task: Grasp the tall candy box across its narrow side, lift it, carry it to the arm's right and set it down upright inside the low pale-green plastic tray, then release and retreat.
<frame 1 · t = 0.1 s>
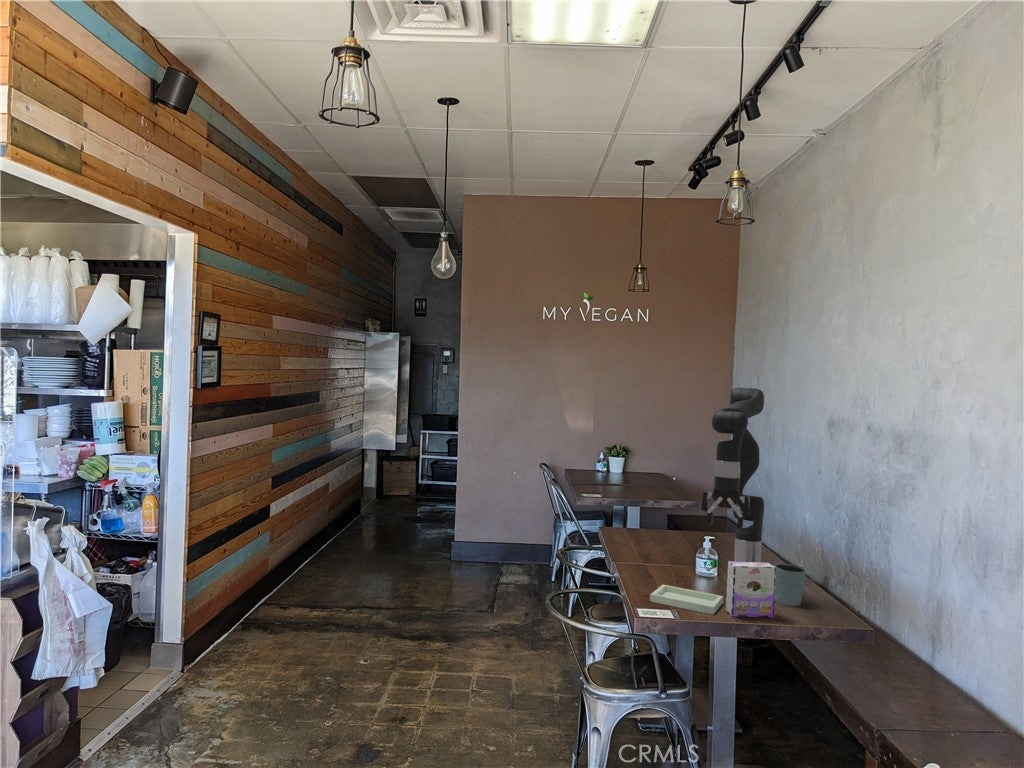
hand: (724, 527, 210), 29 cm above the table, fingers open, 8 cm apart
green cup: (788, 602, 232), on the table
candy box: (749, 615, 217), on the table
tray: (686, 602, 226), on the table
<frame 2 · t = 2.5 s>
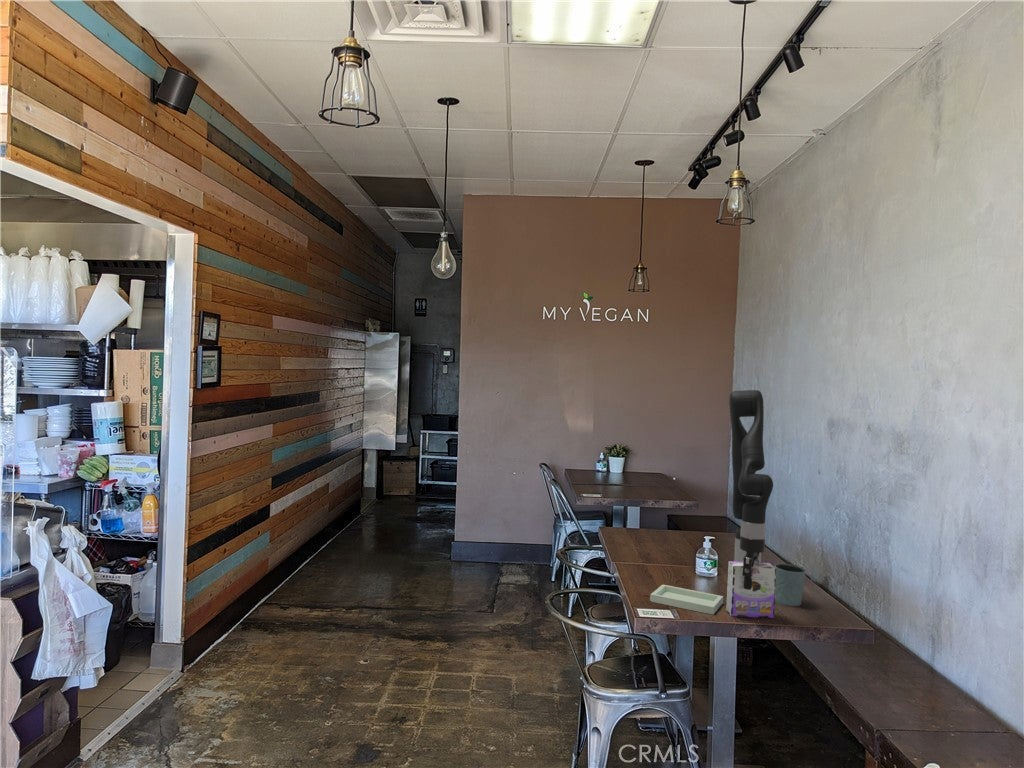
hand: (750, 586, 217), 9 cm above the table, fingers open, 8 cm apart
candy box: (749, 615, 217), on the table, touching gripper
everything else where it was.
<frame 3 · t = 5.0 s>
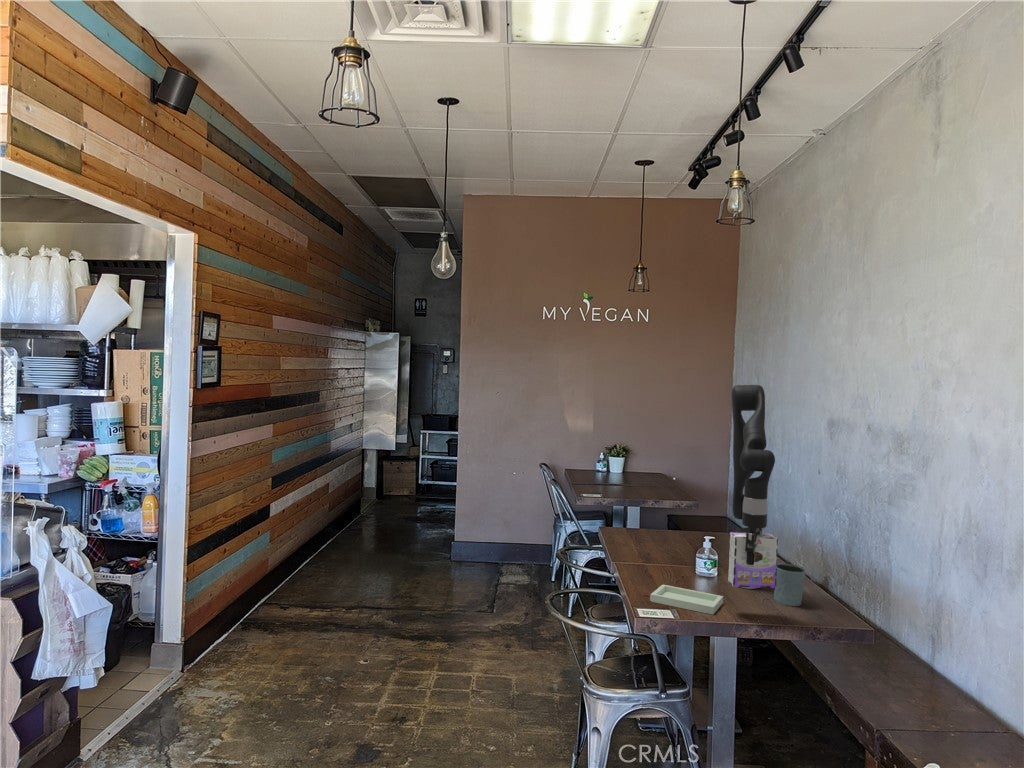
hand: (752, 561, 217), 17 cm above the table, fingers closed on candy box, 8 cm apart
candy box: (751, 585, 218), point 9 cm above the table, touching gripper
everything else where it was.
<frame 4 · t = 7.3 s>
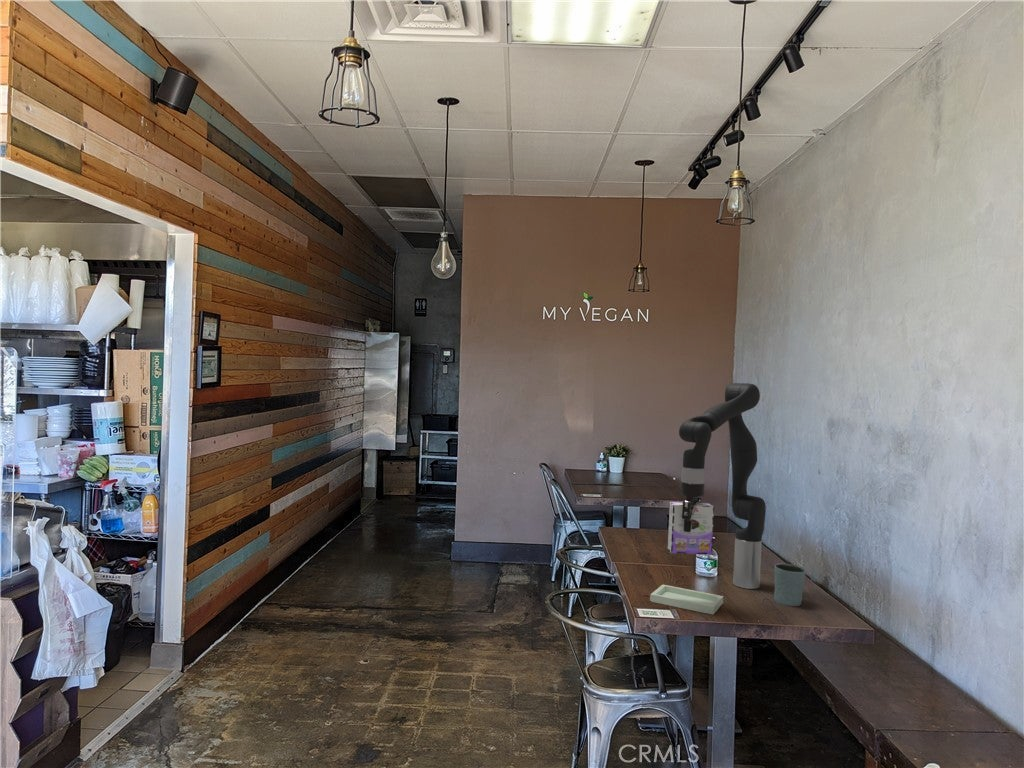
hand: (690, 529, 226), 25 cm above the table, fingers closed on candy box, 8 cm apart
candy box: (689, 552, 226), point 17 cm above the table, touching gripper
everything else where it was.
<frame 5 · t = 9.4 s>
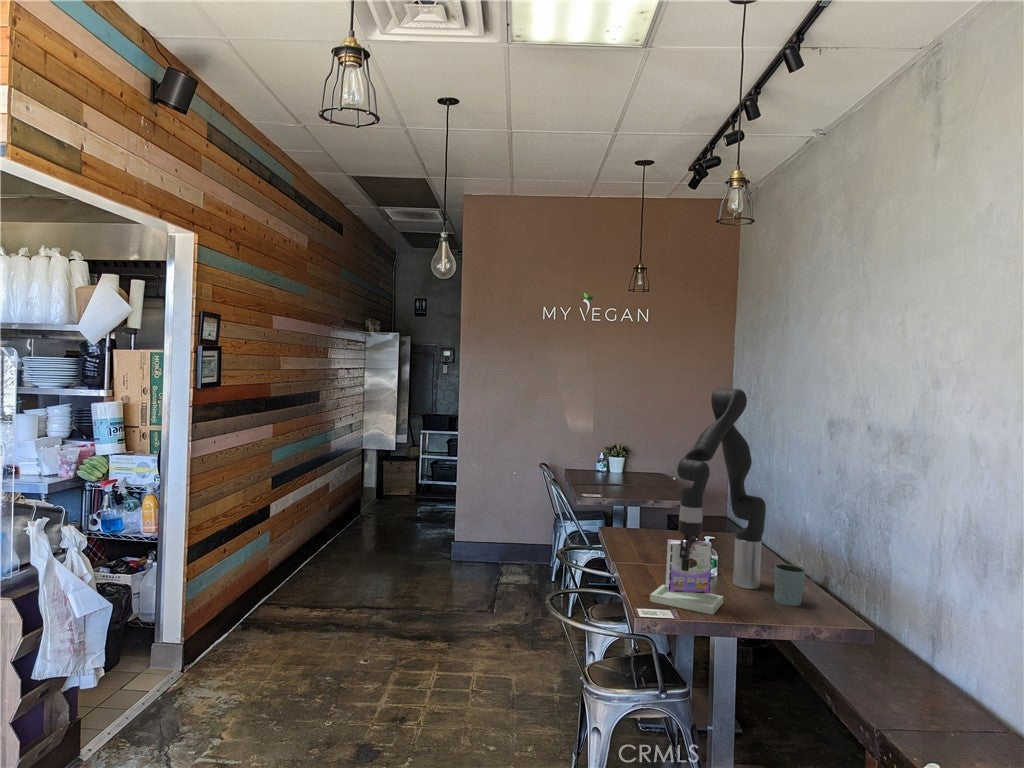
hand: (688, 567, 226), 12 cm above the table, fingers closed on candy box, 8 cm apart
candy box: (687, 591, 226), point 4 cm above the table, touching gripper
everything else where it was.
when the fingers open (9 cm above the table, at t = 11.2 s): candy box stays where it is, resting on tray.
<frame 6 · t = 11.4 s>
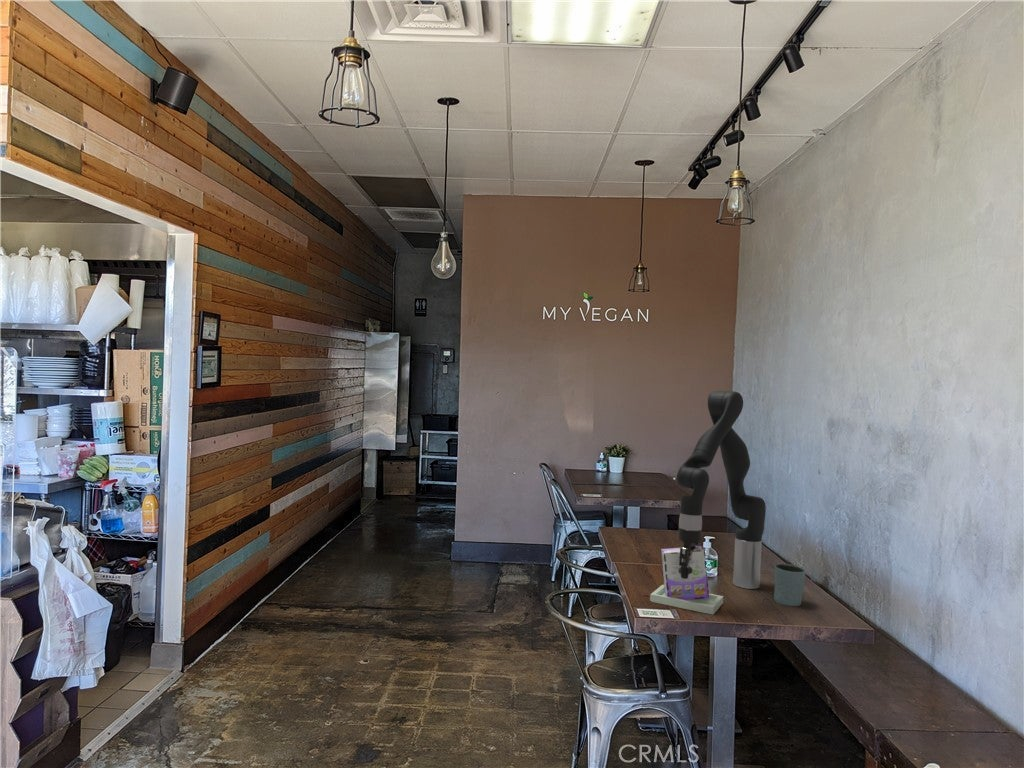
hand: (687, 575, 226), 9 cm above the table, fingers open, 8 cm apart
candy box: (686, 598, 227), point 1 cm above the table, touching tray
everything else where it was.
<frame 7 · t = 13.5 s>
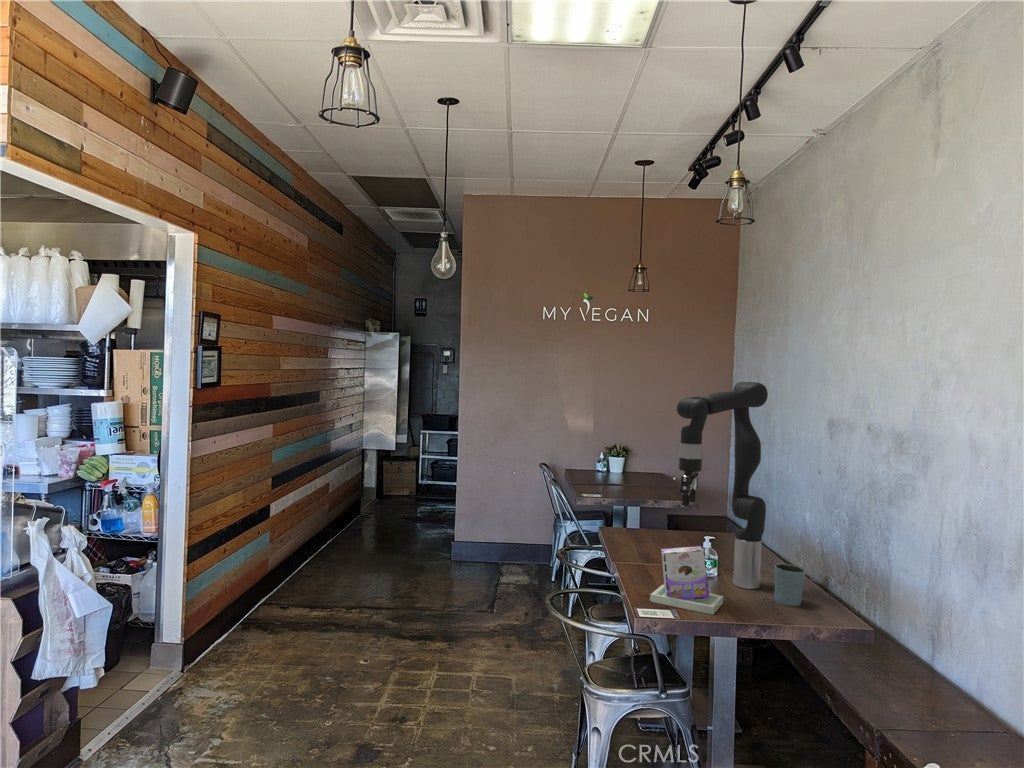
hand: (688, 503, 231), 32 cm above the table, fingers open, 8 cm apart
nothing on the table moved.
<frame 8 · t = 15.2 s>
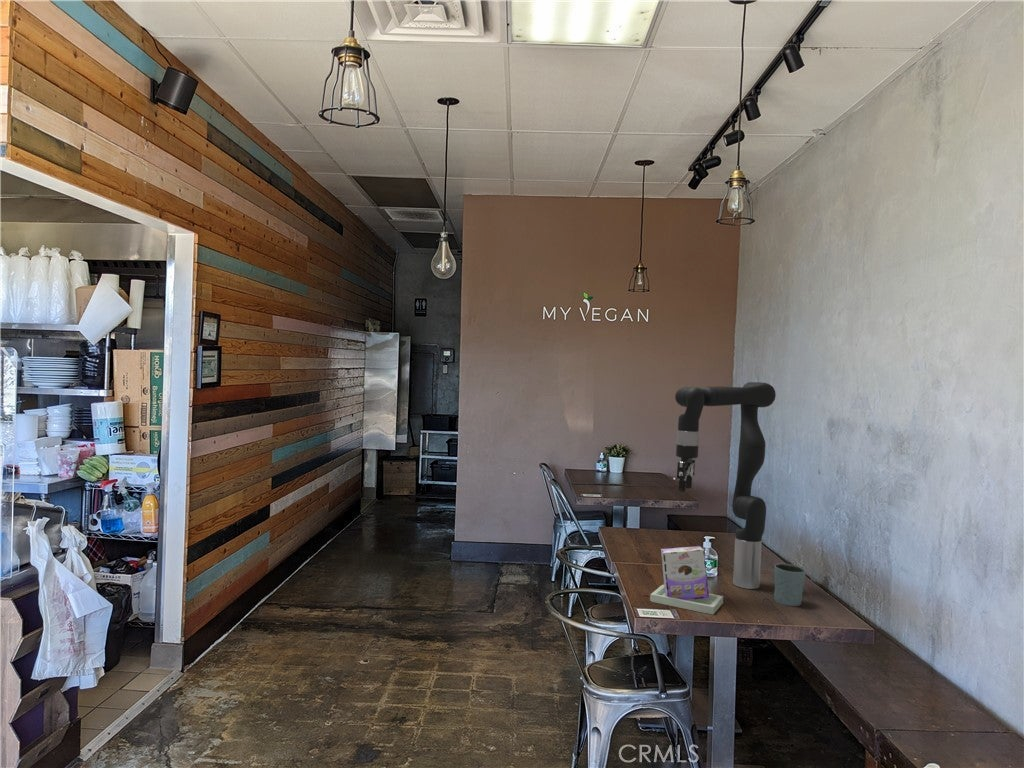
hand: (685, 489, 237), 36 cm above the table, fingers open, 8 cm apart
nothing on the table moved.
at the end: candy box inside the target area on the tray (0.3 cm from its centre), point 1.3 cm above the tray's base; candy box tilted 8°; the gripper is holding nothing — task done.
